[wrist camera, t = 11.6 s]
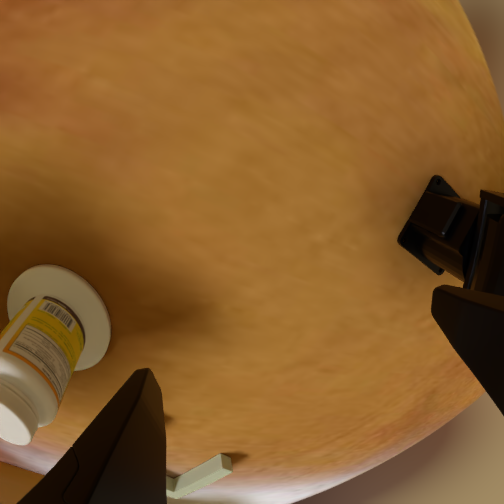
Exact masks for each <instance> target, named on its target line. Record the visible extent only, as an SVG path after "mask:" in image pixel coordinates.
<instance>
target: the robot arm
mask: <svg viewBox="0 0 504 504" xmlns="http://www.w3.org/2000/svg"><path fill="white" fill-rule="evenodd" d="M437 180H438V182H437V183H436V181H437ZM480 198H481V200H480V205H479V204H476V203H473V202H470V201H467V200H464V199H461V198H460V197H459V196H458V195H457V194H456V193H455V191H454V190H453V189H452V188H451V187H450V186H449V185H448V184H447V183H446V181H445V180H444V179H443V178H442V177H441V176H438V175H434V176H433V177H432V179H431V180H430V182H429V184H428V186H427V188H426V190H425V191H424V193H423V195H422V197H421V199H420V200H419V202H418V204H417V206H416V207H415V209H414V211H413V213H412V214H411V216H410V218H409V219H408V221H407V223H406V224H405V226H404V228H403V229H402V231H401V233H400V234H399V236H398V239H397V241H398V244H399V245H401V246H402V247H403V248H404V249H406V250H407V251H408V252H410V253H411V254H412V255H413V256H415V257H416V258H417V259H418V260H420V261H421V262H422V263H423V264H425V265H426V266H427V267H428V268H430V269H431V270H432V271H433V272H434V273H436V274H437V275H441V274H443V272H444V271H447V272H448V273H450V274H452V275H453V276H455V277H456V278H458V279H459V280H461V281H463V282H464V284H463V288H460V287H455V286H450V285H441V286H439V287H436V288H435V289H434V290H433V296H432V305H431V313H432V316H433V318H434V319H435V321H436V322H437V324H438V325H439V327H440V328H441V330H442V331H443V333H444V334H445V336H446V337H447V339H448V340H449V342H450V344H451V345H452V347H453V348H454V349H455V351H456V352H457V353H458V355H459V356H460V357H461V359H462V360H463V361H464V362H465V364H466V365H467V366H468V368H469V369H470V370H471V371H472V373H473V374H474V375H475V377H476V378H477V379H478V381H479V382H480V383H481V385H482V386H483V388H484V389H485V390H486V392H487V393H488V394H489V396H490V397H491V399H492V400H493V401H494V403H495V404H496V406H497V407H498V408H499V410H500V411H501V413H502V414H503V416H504V193H499V192H493V191H488V190H482V189H481V191H480ZM404 238H405V240H404V241H403V239H404ZM439 269H440V270H439ZM72 446H73V447H70V448H69V450H68V451H67V452H66V453H65V454H64V456H63V457H62V458H61V459H60V460H59V461H58V462H57V464H56V465H55V466H54V467H53V468H52V469H51V470H50V471H49V472H48V473H47V474H46V475H45V476H44V477H43V478H42V479H41V480H40V481H39V482H38V483H37V484H36V485H35V486H34V487H33V488H32V489H31V490H30V491H29V492H28V493H27V494H26V495H25V496H24V497H23V498H22V499H21V500H20V501H18V502H17V503H16V504H167V496H166V431H165V422H164V412H163V401H162V392H161V389H160V387H159V385H158V383H157V381H156V379H155V377H154V375H153V372H152V371H151V369H149V368H144V369H138V370H136V371H135V372H134V373H133V374H132V375H131V376H130V378H129V379H128V380H127V381H126V382H125V383H124V385H123V386H122V387H121V388H120V389H119V390H118V392H117V393H116V394H115V395H114V396H113V397H112V399H111V400H110V401H109V402H108V403H107V405H106V406H105V407H104V408H103V409H102V410H101V412H100V413H99V414H98V415H97V416H96V418H95V419H94V420H93V421H92V422H91V424H90V425H89V426H88V427H87V428H86V429H85V431H84V432H83V433H82V434H81V435H80V437H79V438H78V439H77V440H76V441H75V443H74V444H73V445H72Z"/></svg>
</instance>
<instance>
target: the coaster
mask: <svg viewBox="0 0 504 504" xmlns="http://www.w3.org/2000/svg"><path fill="white" fill-rule="evenodd" d="M40 294H49V295H54V296H57V297H59V298H61V299H63V300H65V301H66V302H67V303H69V304H70V305H71V306H72V307H73V308H74V309H75V310H76V311H77V313H78V314H79V316H80V317H81V319H82V321H83V323H84V326H85V330H86V342H85V346H84V349H83V351H82V353H81V355H80V357H79V360H78V362H77V364H76V367H75V369H74V371H78V370H84V369H87V368H90V367H92V366H94V365H95V364H97V363H98V362H99V361H100V360H101V359H102V357H103V356H104V354H105V353H106V351H107V348H108V345H109V342H110V338H111V321H110V317H109V313H108V311H107V308H106V306H105V304H104V302H103V300H102V299H101V297H100V296H99V294H98V293H97V292H96V290H95V289H94V288H93V287H92V286H91V285H90V284H89V283H88V282H87V281H86V280H85V279H83V278H82V277H81V276H79V275H78V274H76V273H75V272H73V271H71V270H69V269H67V268H64V267H61V266H57V265H51V264H43V265H37V266H33V267H31V268H29V269H27V270H26V271H24V272H23V273H22V274H21V275H20V276H19V277H18V278H17V279H16V280H15V281H14V283H13V284H12V286H11V288H10V290H9V294H8V299H7V310H8V316H9V320H10V321H11V320H12V319H13V317H14V316H15V315H16V314H17V313H18V311H19V310H20V309H21V308H22V307H23V306H24V304H25V303H26V302H27V301H28V300H29V299H30V298H32V297H34V296H36V295H40Z"/></svg>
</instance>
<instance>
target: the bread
mask: <svg viewBox="0 0 504 504" xmlns="http://www.w3.org/2000/svg"><path fill="white" fill-rule="evenodd" d="M44 476H45V475H41V474H38V473H35V472H31V471H28V470H25V469H22V468H19V467H16V466H13V465H10V464H7V463H4V462H1V461H0V504H16V503H17V502H18V501H20V500H21V499H22V498H23V497H24V496H25V495H26V494H27V493H28V492H29V491H30V490H31V489H32V488H33V487H34V486H35V485H36V484H37V483H38V482H39V481H40V480H41V479H42V478H43V477H44Z"/></svg>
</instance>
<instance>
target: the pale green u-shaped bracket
mask: <svg viewBox="0 0 504 504" xmlns="http://www.w3.org/2000/svg"><path fill="white" fill-rule="evenodd" d="M232 472H233V469H232V463H231V458H230V457H228V456H226V455H223V454H221V453H220V454H218V455H217V456H215V457H213V458H211V459H210V460H208V461H206V462H204V463H203V464H201V465H199V466H197V467H195V468H193V469H192V470H190V471H188V472H186V473H184V474H182V475H180V476H178V477H176V478H174V479H173V478H171V477H168V476H166V496H169V497H171V498H174V499H178V498H181V497H183V496H185V495H187V494H190V493H192V492H194V491H196V490H198V489H200V488H202V487H205V486H207V485H209V484H211V483H213V482H215V481H217V480H219V479H221V478H223V477H224V476H226V475H228V474H230V473H232Z"/></svg>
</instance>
